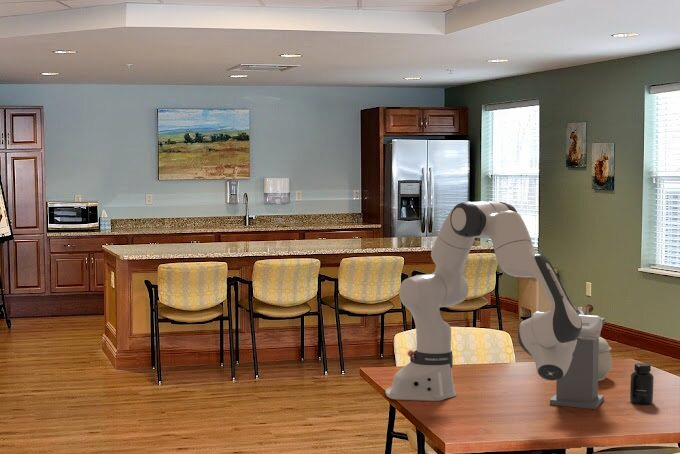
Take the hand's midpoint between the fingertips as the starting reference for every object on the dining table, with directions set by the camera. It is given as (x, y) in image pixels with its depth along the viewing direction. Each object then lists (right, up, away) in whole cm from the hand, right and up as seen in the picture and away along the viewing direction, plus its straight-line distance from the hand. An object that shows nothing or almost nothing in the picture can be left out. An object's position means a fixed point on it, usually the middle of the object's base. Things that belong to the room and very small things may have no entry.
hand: (570, 308), depth 294 cm
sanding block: (+3, -3, +6) cm, 7 cm away
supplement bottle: (+25, -30, +12) cm, 41 cm away
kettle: (+17, -28, +49) cm, 59 cm away
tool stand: (+5, -30, +12) cm, 33 cm away
